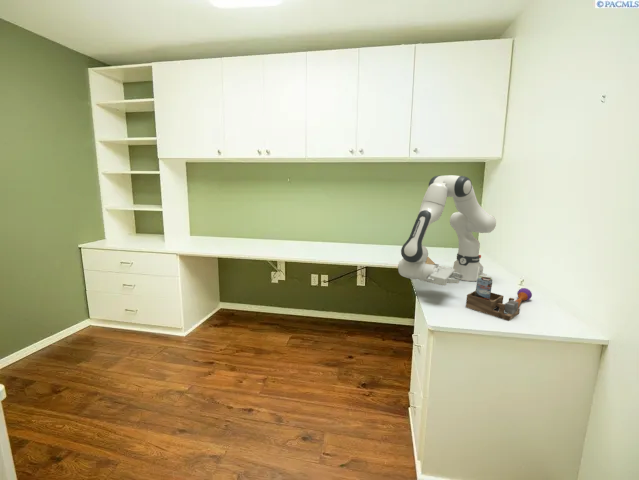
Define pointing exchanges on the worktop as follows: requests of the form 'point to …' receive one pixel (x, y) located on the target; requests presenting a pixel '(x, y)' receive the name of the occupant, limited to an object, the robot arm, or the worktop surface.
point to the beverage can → (483, 287)
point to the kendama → (523, 295)
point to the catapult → (493, 306)
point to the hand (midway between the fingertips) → (460, 278)
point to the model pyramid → (429, 261)
